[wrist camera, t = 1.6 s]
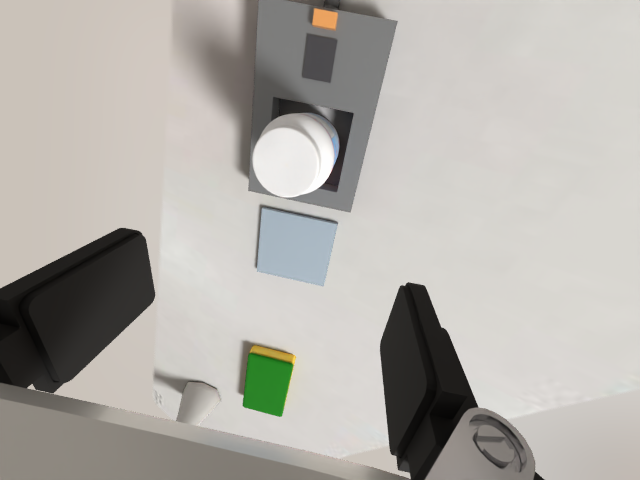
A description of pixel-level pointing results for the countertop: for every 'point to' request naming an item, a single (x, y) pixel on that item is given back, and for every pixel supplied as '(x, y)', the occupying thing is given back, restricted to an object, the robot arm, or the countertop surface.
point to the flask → (197, 403)
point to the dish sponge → (267, 380)
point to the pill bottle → (295, 154)
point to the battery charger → (320, 78)
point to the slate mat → (295, 246)
